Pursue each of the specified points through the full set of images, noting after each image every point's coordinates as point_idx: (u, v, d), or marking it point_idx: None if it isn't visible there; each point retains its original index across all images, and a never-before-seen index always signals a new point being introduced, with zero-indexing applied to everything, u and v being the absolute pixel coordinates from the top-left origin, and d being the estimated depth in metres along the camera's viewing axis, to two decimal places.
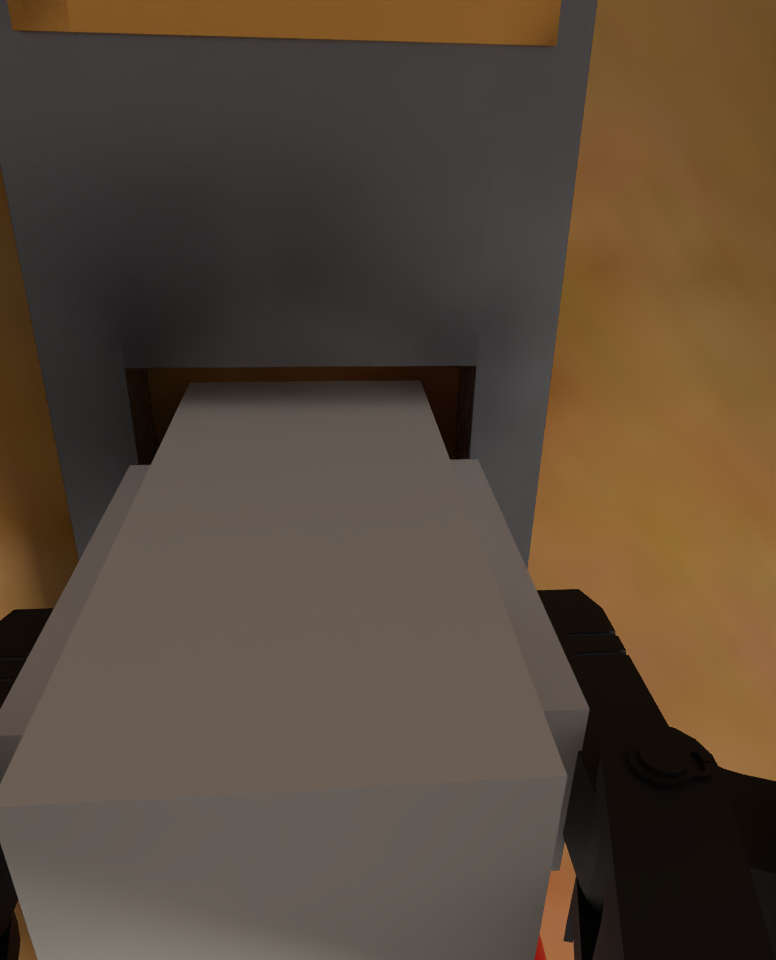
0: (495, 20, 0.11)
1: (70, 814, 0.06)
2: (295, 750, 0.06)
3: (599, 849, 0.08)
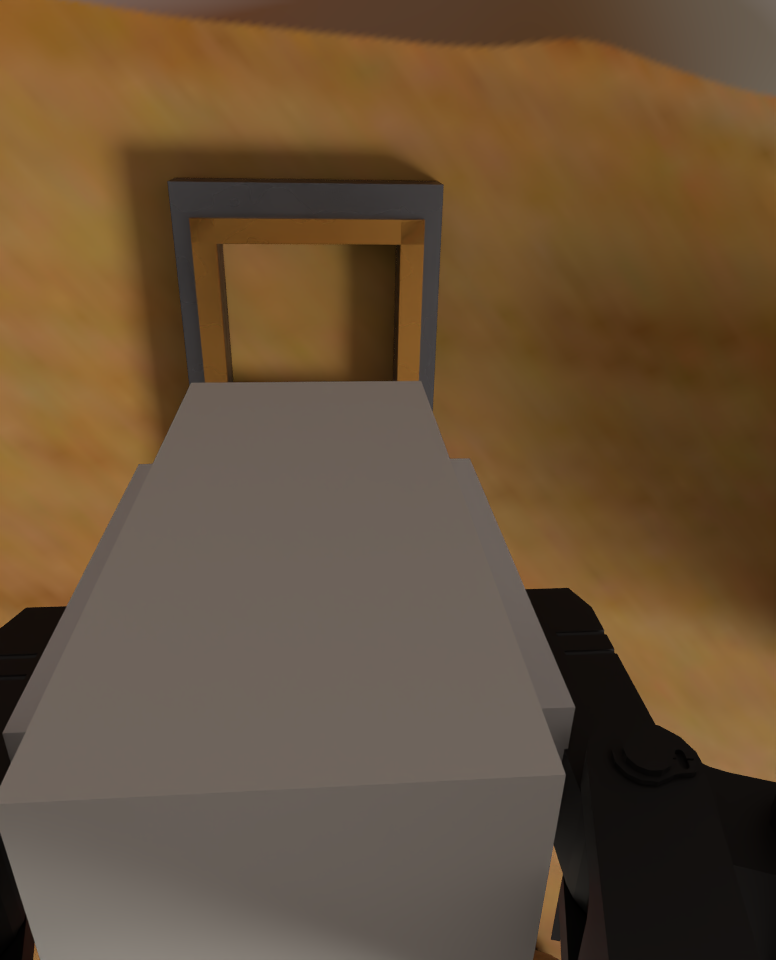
0: None
1: (72, 810, 0.06)
2: (295, 749, 0.06)
3: (585, 848, 0.08)
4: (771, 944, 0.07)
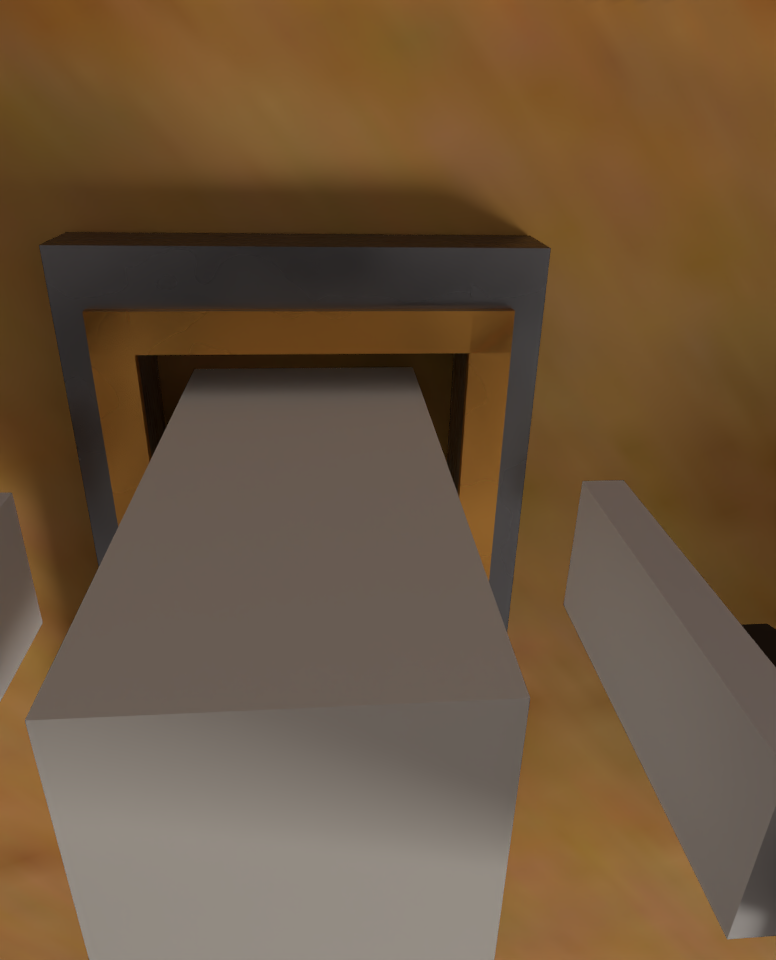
0: None
1: (94, 727, 0.07)
2: (291, 678, 0.07)
3: None
4: None
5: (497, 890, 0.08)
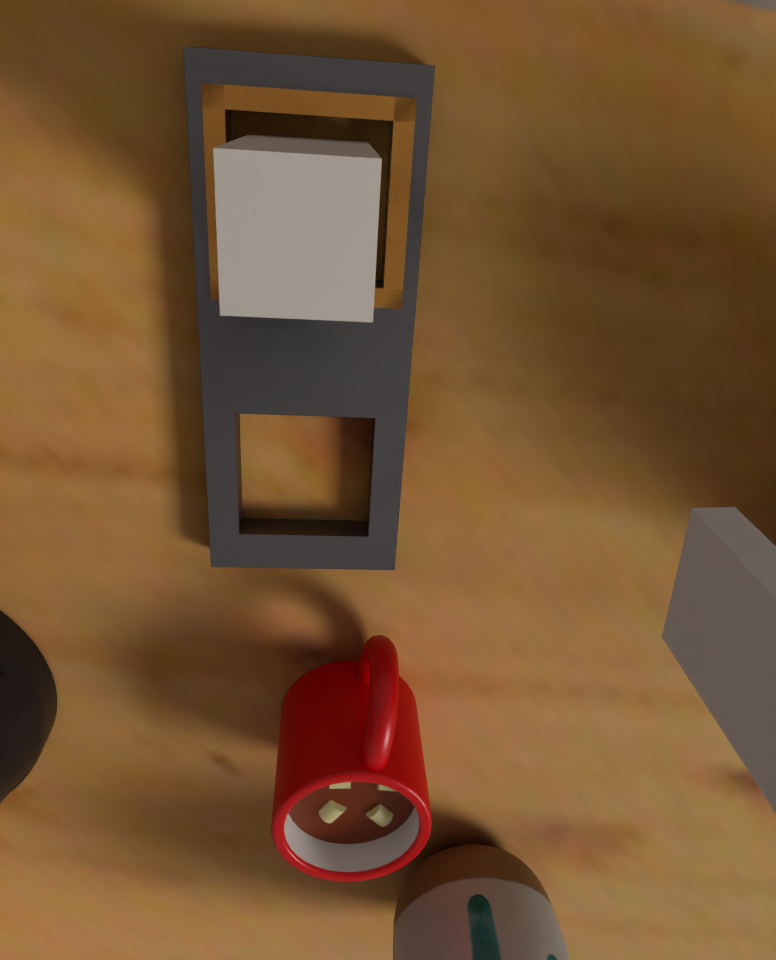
0: (379, 300, 0.31)
1: (235, 154, 0.20)
2: (300, 152, 0.21)
3: None
4: None
5: (374, 261, 0.22)
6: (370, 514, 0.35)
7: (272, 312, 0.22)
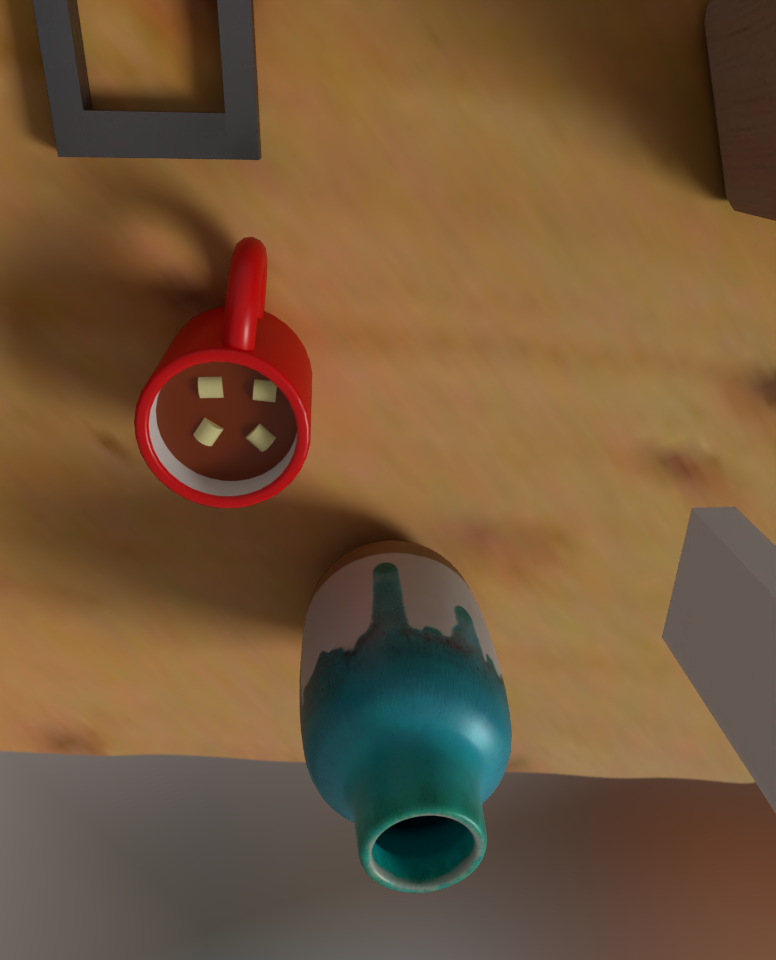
0: None
1: None
2: None
3: None
4: None
5: None
6: (224, 83, 0.33)
7: None
